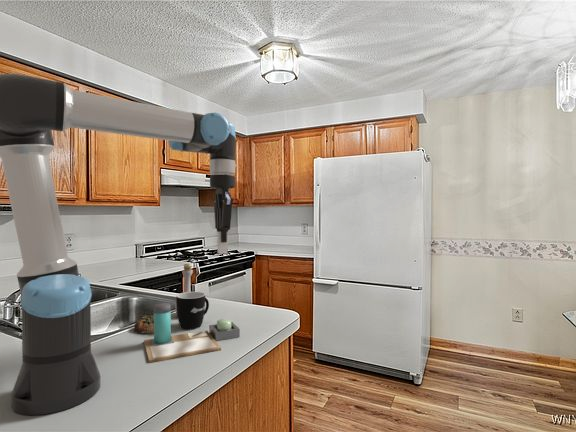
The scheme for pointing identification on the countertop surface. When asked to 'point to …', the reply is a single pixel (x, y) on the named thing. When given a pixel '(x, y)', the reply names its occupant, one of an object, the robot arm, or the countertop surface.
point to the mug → (191, 309)
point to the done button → (223, 324)
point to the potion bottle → (186, 279)
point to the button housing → (224, 332)
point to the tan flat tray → (181, 346)
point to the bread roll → (145, 325)
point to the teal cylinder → (162, 323)
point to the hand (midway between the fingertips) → (222, 252)
